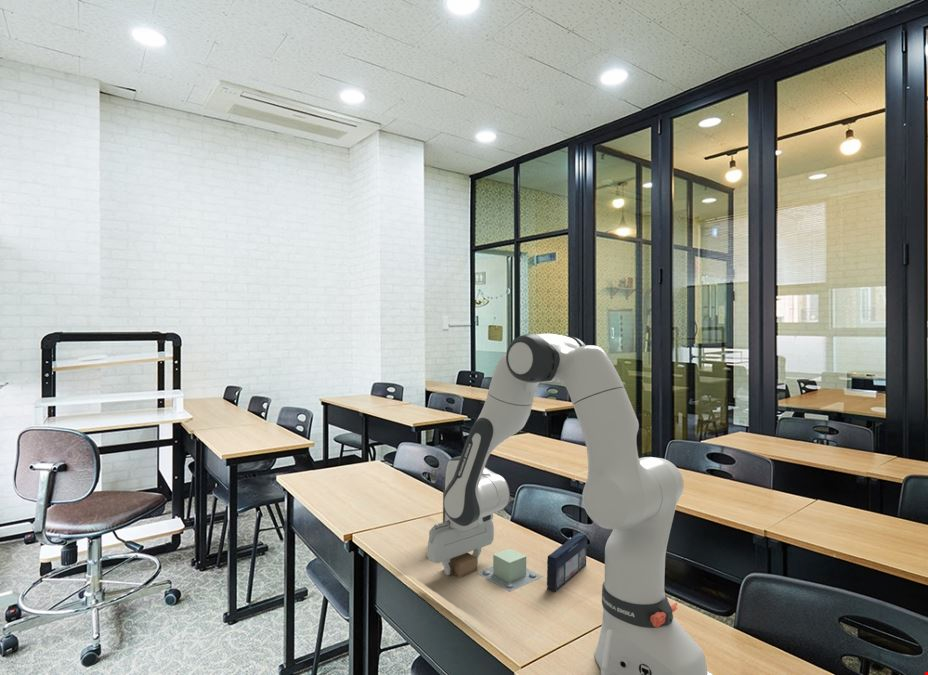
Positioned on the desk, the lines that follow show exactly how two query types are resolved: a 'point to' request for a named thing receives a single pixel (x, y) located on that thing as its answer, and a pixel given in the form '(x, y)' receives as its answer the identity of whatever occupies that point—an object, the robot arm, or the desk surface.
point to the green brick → (509, 565)
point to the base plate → (512, 585)
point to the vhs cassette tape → (566, 562)
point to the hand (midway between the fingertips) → (461, 569)
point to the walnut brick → (463, 564)
